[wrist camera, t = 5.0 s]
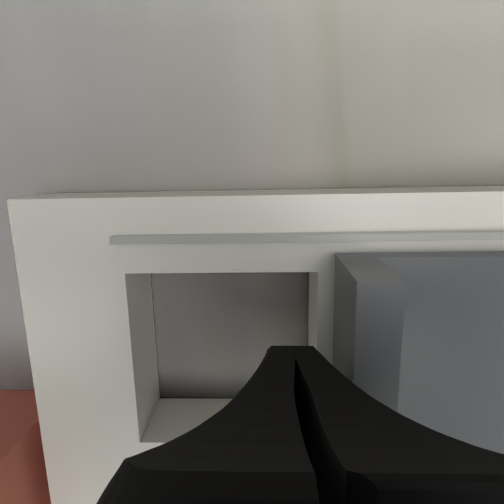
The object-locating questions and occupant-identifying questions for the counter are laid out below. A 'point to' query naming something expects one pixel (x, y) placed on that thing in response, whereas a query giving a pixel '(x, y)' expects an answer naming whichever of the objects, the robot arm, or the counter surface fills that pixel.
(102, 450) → the socket board
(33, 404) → the plug
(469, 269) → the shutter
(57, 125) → the counter surface
